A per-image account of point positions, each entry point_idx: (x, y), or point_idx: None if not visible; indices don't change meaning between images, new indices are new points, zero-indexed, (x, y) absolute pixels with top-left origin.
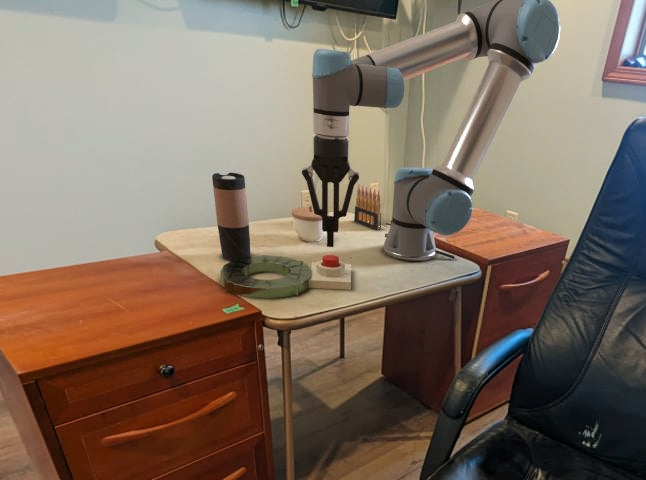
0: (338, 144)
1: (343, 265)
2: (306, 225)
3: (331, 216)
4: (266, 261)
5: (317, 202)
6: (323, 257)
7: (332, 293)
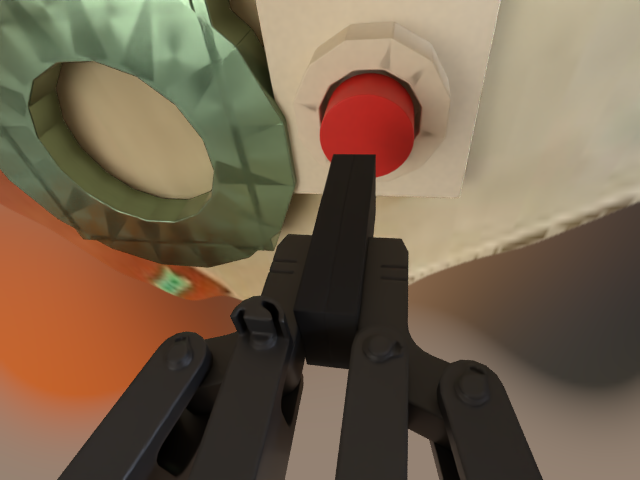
0: None
1: (439, 130)
2: None
3: (333, 320)
4: (50, 49)
5: (175, 477)
6: (325, 145)
7: (386, 206)
